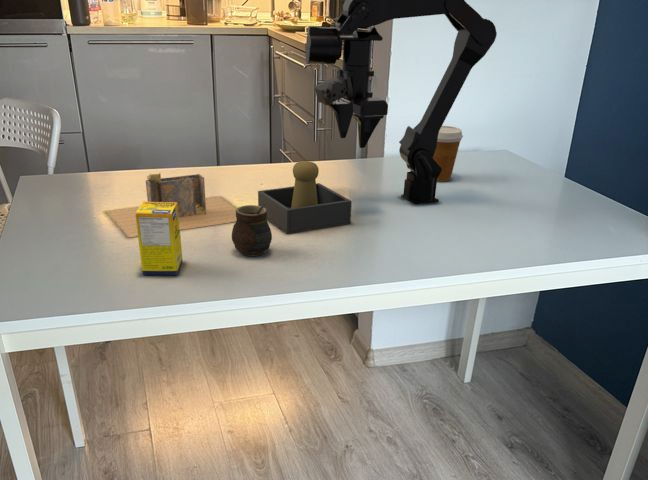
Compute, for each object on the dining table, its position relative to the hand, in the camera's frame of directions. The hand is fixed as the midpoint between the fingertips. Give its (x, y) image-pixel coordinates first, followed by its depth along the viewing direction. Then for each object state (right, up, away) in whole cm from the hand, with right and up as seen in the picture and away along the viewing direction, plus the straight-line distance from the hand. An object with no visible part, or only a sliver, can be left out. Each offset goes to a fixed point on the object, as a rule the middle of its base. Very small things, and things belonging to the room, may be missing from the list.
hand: (352, 142), depth 144 cm
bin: (-10, -17, -4) cm, 20 cm away
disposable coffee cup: (+23, -1, +26) cm, 34 cm away
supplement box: (-34, -31, -29) cm, 54 cm away
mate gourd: (-19, -27, -21) cm, 39 cm away
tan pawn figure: (-10, -17, -4) cm, 20 cm away
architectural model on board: (-36, -17, -5) cm, 40 cm away
